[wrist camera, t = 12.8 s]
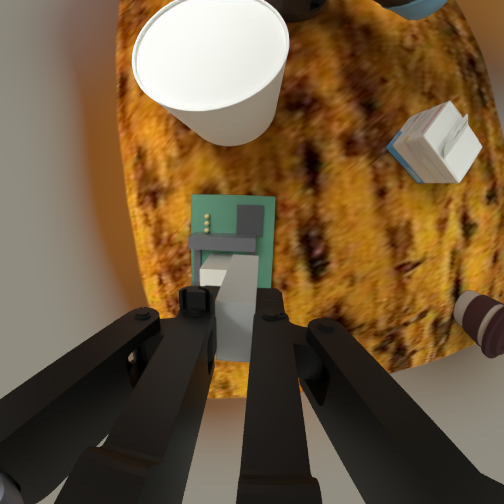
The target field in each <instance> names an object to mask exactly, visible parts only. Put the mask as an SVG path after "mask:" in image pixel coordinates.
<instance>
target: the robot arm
mask: <svg viewBox="0 0 504 504" xmlns="http://www.w3.org/2000/svg"><path fill="white" fill-rule="evenodd" d="M264 1H266V2H267V3H269V4H270V5H271V6H273V7H274V8H275V9H276V10H277V11H278V13H279V14H280V15H281V17H282V18H283V20H284V21H301V20H306V19H310V18H313V17H315V16H317V15H318V14H320V13H321V12H322V11H323V10H324V9H325V7H326V5H327V2H328V0H264ZM373 1H375V2H377V3H379V4H380V5H381V6H382V7H383V8H385V9H388V10H391V11H393V12H395V13H396V14H398V15H400V16H402V17H403V18H405V19H408V20H420V19H423V18H426V17H428V16H429V15H431V14H433V13H434V12H436V11H437V10H438V9H439V8H441V7H442V6H443V5H444V4H445V3H446V2H447V1H448V0H373ZM258 261H259V256H253V255H234V254H233V257H232V259H231V262H230V264H229V267H228V269H227V272H226V274H225V277H224V279H223V282H222V284H221V286H210V285H206V286H187V287H184V288H182V289H180V290H179V304H180V311H179V313H178V314H177V316H176V317H175V318H167V319H160V317H159V312H158V311H157V310H155V309H152V308H147V307H144V308H142V307H140V308H138V309H134V310H132V311H130V312H128V313H127V314H125V315H123V316H122V317H121V318H119V319H117V320H116V321H114V322H113V323H111V324H110V325H108V326H107V327H105V328H104V329H102V330H101V331H99V332H98V333H96V334H95V335H93V336H92V337H90V338H89V339H87V340H86V341H84V342H83V343H81V344H80V345H78V346H77V347H75V348H74V349H72V350H71V351H69V352H68V353H67V354H65V355H64V356H62V357H61V358H59V359H58V360H56V361H55V362H53V363H52V364H50V365H49V366H47V367H46V368H44V369H43V370H41V371H40V372H39V373H37V374H36V375H34V376H33V377H31V378H30V379H28V380H27V381H26V382H24V383H23V384H21V385H20V386H18V387H17V388H16V389H14V390H13V391H11V392H10V393H9V394H7V395H6V396H4V397H3V398H1V399H0V504H36V503H38V502H39V501H41V500H42V499H44V498H45V497H46V496H48V495H49V494H50V493H51V492H52V491H53V490H55V489H56V488H57V487H58V486H59V484H61V482H63V480H64V479H65V478H66V477H67V476H68V475H69V476H68V478H67V480H66V482H65V484H64V485H63V487H62V489H61V491H60V493H59V495H58V497H57V499H56V501H55V502H54V504H182V499H183V496H184V491H185V487H186V483H187V479H188V474H189V470H190V466H191V462H192V457H193V453H194V449H195V445H196V441H197V437H198V433H199V428H200V424H201V420H202V416H203V412H204V408H205V404H206V400H207V396H208V392H209V388H210V384H211V380H212V376H213V371H214V367H215V364H214V356H215V353H216V360H224V361H237V362H250V366H249V378H248V389H247V402H246V412H245V424H244V434H243V446H242V457H241V468H240V476H239V481H238V490H237V501H236V504H322V497H321V491H320V486H319V483H318V480H317V479H316V478H314V477H312V475H311V472H310V464H309V456H308V448H307V440H306V432H305V425H304V417H303V411H302V403H301V396H300V388H299V383H300V385H301V387H302V389H303V391H304V393H305V395H306V396H307V398H308V400H309V402H310V404H311V406H312V408H313V410H314V411H315V413H316V415H317V417H318V419H319V421H320V422H321V424H322V426H323V428H324V430H325V432H326V434H327V435H328V437H329V439H330V441H331V443H332V444H333V446H334V448H335V450H336V451H337V454H338V455H339V457H340V459H341V461H342V462H343V464H344V466H345V468H346V470H347V471H348V473H349V475H350V477H351V479H352V480H353V482H354V484H355V486H356V487H357V489H358V491H359V493H360V494H361V496H362V498H363V500H364V501H365V503H366V504H504V485H503V484H501V483H499V482H497V481H495V480H493V479H491V478H489V477H487V476H485V475H483V474H481V473H480V472H479V471H478V470H477V468H476V467H475V466H474V465H473V464H472V463H471V462H470V461H469V460H468V459H467V457H466V456H465V455H464V454H463V453H462V452H461V451H460V450H459V449H458V448H457V447H456V445H455V444H454V443H453V442H452V441H451V440H450V439H449V438H448V437H447V436H446V434H445V433H444V432H443V431H442V430H441V429H440V428H439V427H438V426H437V425H436V424H435V423H434V421H433V420H431V418H430V417H429V416H428V415H427V414H426V413H425V412H424V411H423V410H422V409H421V407H420V406H419V405H418V404H417V403H416V402H415V401H414V400H413V399H412V398H411V397H410V396H409V395H408V394H407V393H406V392H405V390H404V389H403V388H402V387H401V386H400V385H399V384H398V383H397V382H396V381H395V380H394V379H393V378H392V377H391V376H390V375H389V374H388V372H387V371H386V370H385V369H384V368H383V367H382V366H381V365H380V364H379V363H378V362H377V361H376V360H375V359H374V358H373V357H372V356H371V355H370V354H369V353H368V352H367V351H366V349H365V348H364V347H363V346H362V345H361V344H360V343H359V342H358V341H357V340H356V339H355V338H354V337H353V336H352V335H351V334H350V333H349V332H348V331H347V330H346V329H345V328H344V327H343V326H342V325H341V324H340V323H339V322H337V321H334V320H332V319H329V318H328V319H327V318H318V319H314V320H312V321H310V322H309V324H308V328H307V327H302V326H298V325H295V324H292V323H291V322H289V317H288V315H287V314H286V313H285V310H284V304H283V297H282V293H281V292H280V291H279V290H278V289H275V288H257V280H258ZM131 353H133V357H134V359H133V360H132V361H130V362H129V360H128V357H129V355H130V354H131ZM298 378H299V381H298ZM108 434H109V435H108ZM107 435H108V437H107V439H106V441H105V442H104V444H103V445H102V446H101V447H96V446H97V445H98V444H99V443H100V442H101V441H102V440H103V439H104V438H105V437H106V436H107Z"/></svg>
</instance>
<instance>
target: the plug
mask: <svg viewBox="0 0 504 504" xmlns="http://www.w3.org/2000/svg"><path fill="white" fill-rule="evenodd" d="M234 255H238V254H234ZM232 257H233V254H217V253H211V254H210V255H209V257H208V258H207V259H206V261H205V262H204V264H203V265H202V266H201V268H200V286H206V285H210V286H221V284H222V282H223V279H224V277H225V274H226V272H227V269H228V267H229V264H230V262H231V259H232Z"/></svg>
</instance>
